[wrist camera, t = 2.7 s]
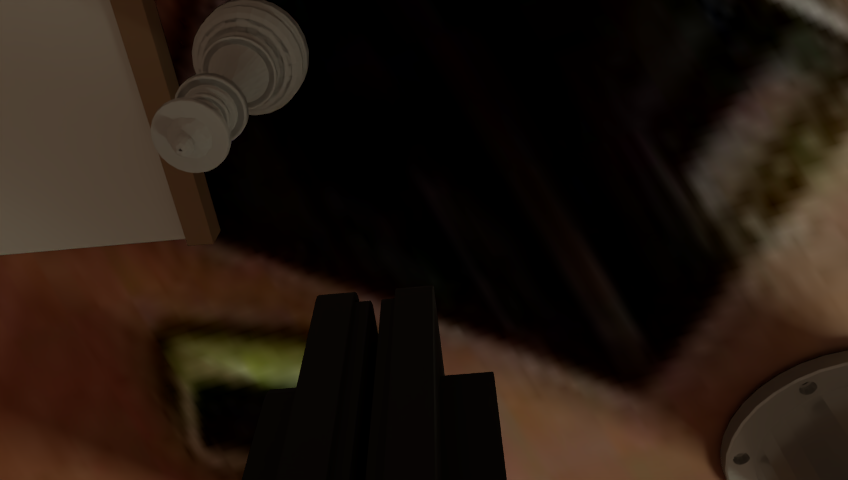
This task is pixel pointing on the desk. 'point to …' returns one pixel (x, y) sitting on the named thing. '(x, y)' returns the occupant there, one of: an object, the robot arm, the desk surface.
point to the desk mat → (89, 130)
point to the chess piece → (230, 82)
